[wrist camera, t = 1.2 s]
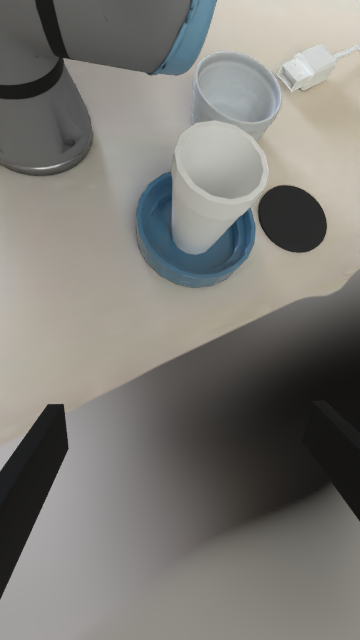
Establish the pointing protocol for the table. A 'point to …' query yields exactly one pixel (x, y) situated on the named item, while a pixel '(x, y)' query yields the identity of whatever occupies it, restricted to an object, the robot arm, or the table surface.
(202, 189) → the foam cup
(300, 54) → the charging cable
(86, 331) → the table surface
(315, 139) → the table surface
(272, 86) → the ramekin
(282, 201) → the mat
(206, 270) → the bowl
